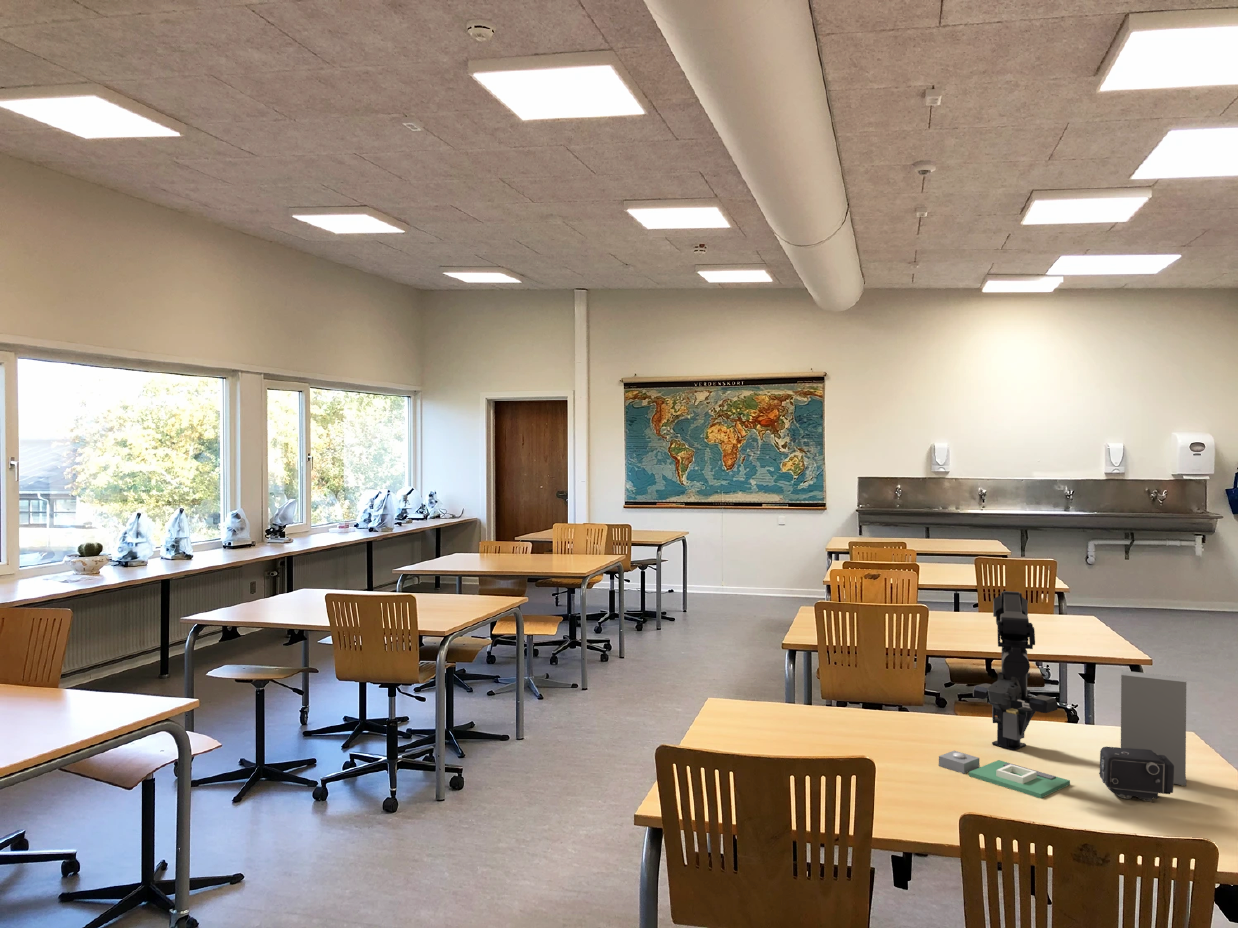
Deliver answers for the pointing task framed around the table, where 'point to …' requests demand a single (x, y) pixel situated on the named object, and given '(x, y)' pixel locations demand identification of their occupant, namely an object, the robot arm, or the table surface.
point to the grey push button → (959, 762)
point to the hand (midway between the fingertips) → (1013, 732)
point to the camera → (1136, 772)
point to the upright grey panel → (1155, 717)
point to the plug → (1011, 724)
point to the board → (1019, 778)
